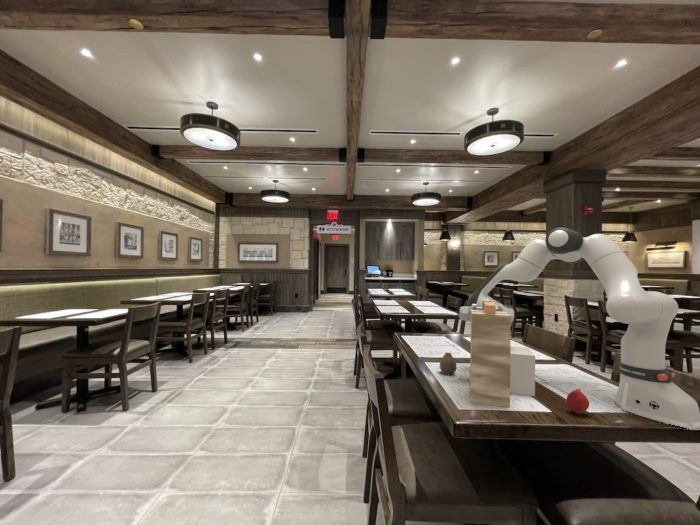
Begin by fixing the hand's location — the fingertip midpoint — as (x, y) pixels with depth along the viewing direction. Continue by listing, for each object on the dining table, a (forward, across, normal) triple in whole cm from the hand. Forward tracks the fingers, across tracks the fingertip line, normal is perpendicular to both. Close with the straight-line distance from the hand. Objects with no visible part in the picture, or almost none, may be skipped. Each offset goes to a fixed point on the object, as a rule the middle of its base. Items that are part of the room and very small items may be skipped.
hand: (487, 306), depth 125 cm
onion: (-4, +26, +34) cm, 43 cm away
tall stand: (-6, 0, +32) cm, 33 cm away
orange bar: (+5, 0, +4) cm, 7 cm away
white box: (-19, +10, +25) cm, 33 cm away
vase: (-26, -15, +21) cm, 37 cm away
